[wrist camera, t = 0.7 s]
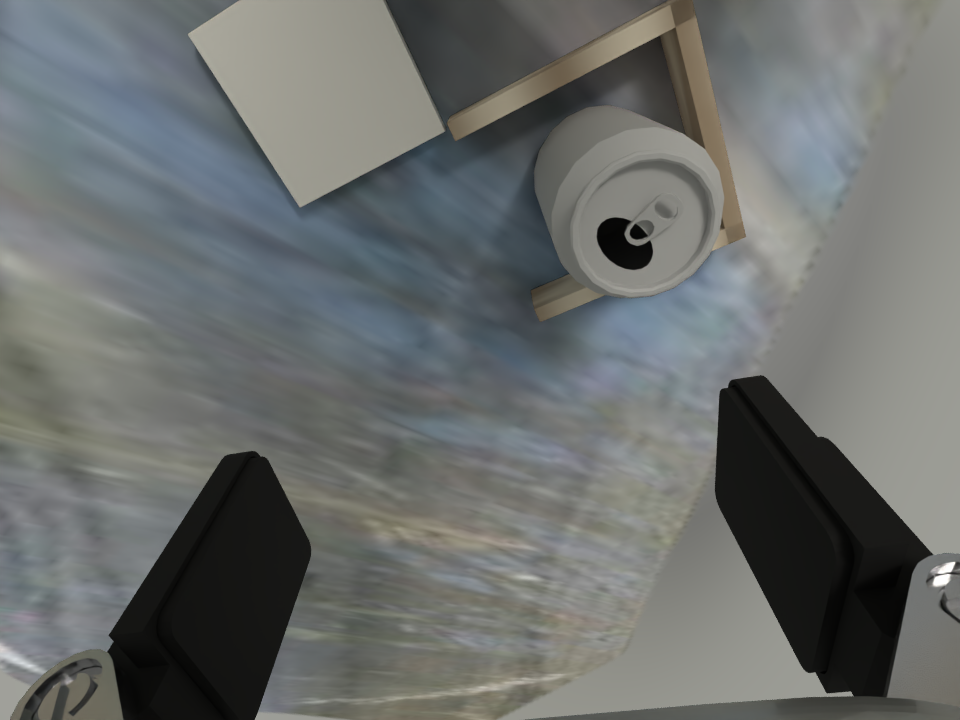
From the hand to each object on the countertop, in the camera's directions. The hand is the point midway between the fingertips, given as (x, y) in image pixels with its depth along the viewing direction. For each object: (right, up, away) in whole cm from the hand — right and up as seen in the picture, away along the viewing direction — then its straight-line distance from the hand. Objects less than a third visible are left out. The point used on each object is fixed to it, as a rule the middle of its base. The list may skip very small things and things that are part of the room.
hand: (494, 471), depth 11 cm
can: (+7, +14, +21) cm, 26 cm away
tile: (-9, +18, +19) cm, 27 cm away
